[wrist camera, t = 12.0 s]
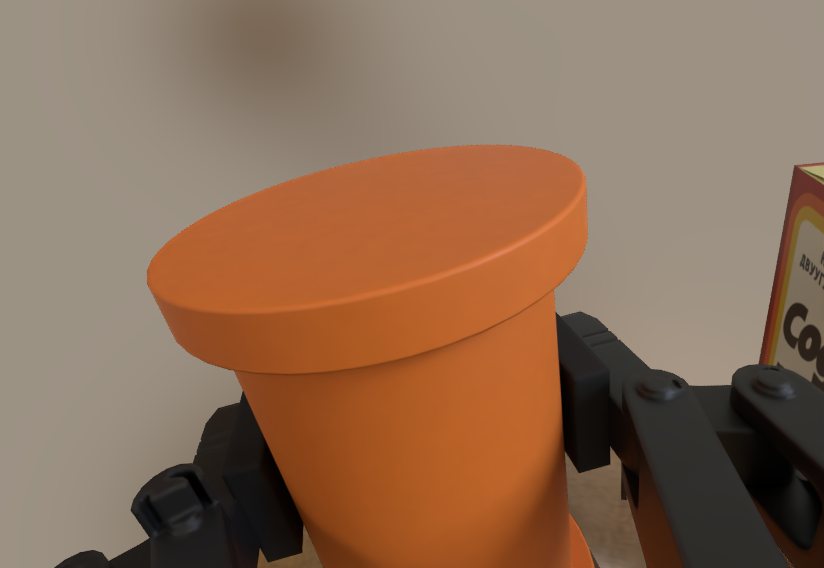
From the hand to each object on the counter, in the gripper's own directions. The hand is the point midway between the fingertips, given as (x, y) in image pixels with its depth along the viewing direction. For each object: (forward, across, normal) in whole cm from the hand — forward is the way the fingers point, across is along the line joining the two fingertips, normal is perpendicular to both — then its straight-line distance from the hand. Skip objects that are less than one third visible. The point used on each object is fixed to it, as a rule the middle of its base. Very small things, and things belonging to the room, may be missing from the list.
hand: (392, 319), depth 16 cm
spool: (-5, 0, -6) cm, 8 cm away
